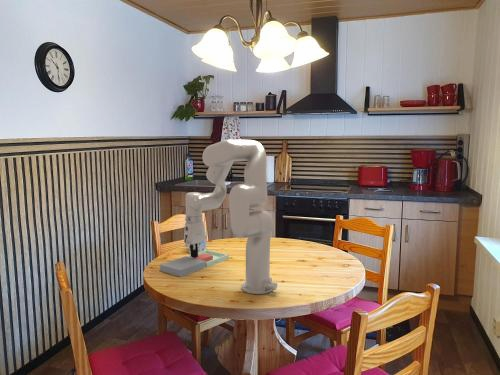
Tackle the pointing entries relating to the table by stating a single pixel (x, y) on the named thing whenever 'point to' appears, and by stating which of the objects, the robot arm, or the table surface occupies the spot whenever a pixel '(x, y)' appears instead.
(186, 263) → the grey flat slab
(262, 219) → the robot arm
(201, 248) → the light bulb box
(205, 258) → the salmon red thick block
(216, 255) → the tray
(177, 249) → the table surface
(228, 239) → the table surface
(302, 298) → the table surface
